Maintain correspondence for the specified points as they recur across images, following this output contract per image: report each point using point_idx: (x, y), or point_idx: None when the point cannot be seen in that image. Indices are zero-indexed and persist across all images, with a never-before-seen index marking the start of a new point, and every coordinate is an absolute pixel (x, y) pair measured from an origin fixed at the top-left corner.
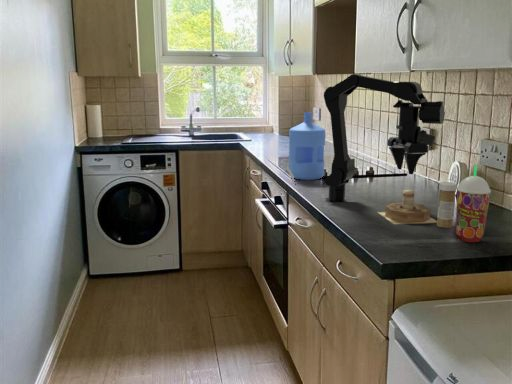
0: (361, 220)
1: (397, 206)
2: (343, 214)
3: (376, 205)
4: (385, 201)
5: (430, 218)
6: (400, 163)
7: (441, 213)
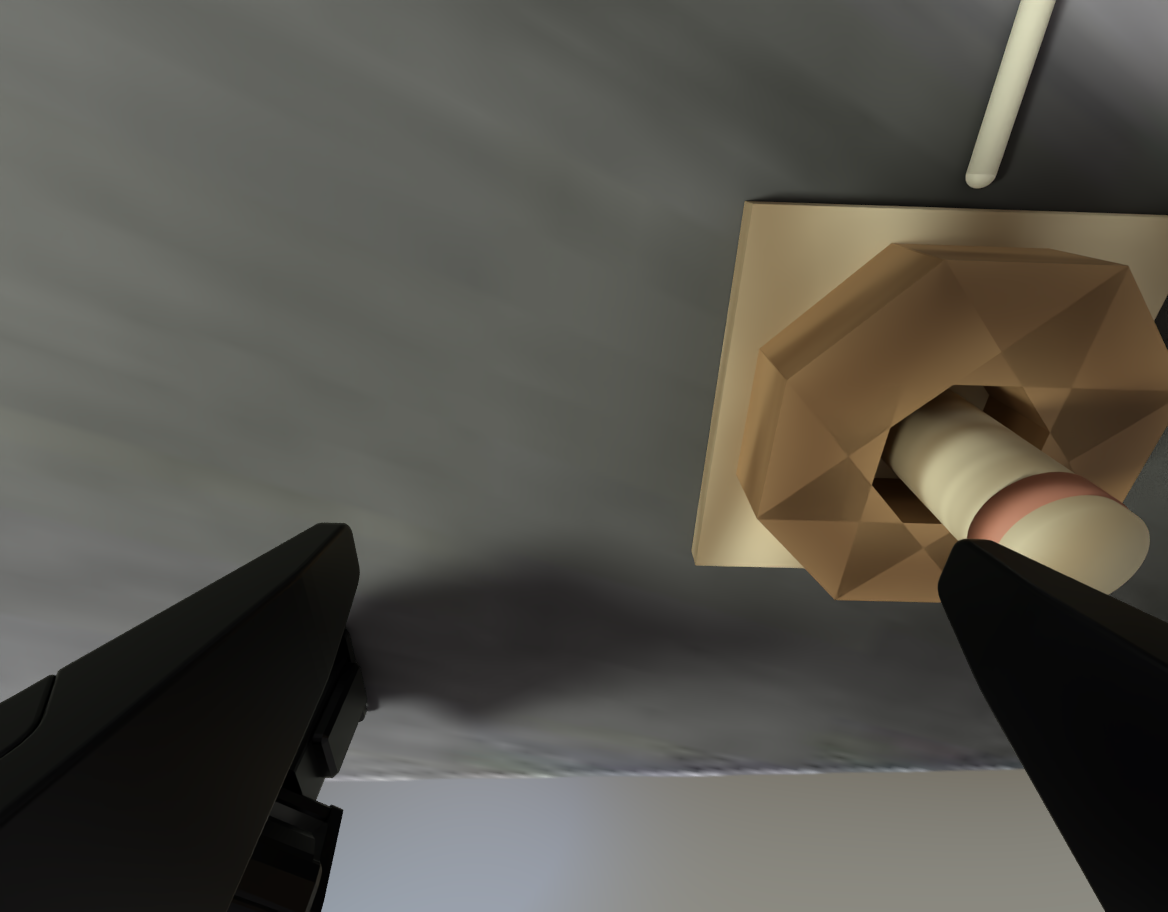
0: (786, 661)
1: (886, 526)
2: (631, 705)
3: (397, 460)
4: (229, 330)
5: (1045, 237)
6: (288, 640)
7: None
